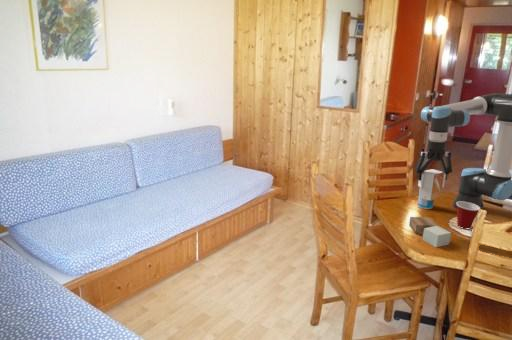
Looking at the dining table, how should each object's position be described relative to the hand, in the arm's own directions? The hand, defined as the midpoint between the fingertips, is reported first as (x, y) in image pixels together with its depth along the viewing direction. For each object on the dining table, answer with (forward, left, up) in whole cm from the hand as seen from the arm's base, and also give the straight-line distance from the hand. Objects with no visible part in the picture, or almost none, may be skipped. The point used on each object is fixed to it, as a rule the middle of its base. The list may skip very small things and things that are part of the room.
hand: (430, 186), depth 183 cm
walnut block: (+1, -1, -23) cm, 23 cm away
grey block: (+1, +12, -23) cm, 26 cm away
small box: (0, 0, -6) cm, 6 cm away
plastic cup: (-22, -4, -23) cm, 32 cm away
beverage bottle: (-15, -32, -23) cm, 42 cm away
